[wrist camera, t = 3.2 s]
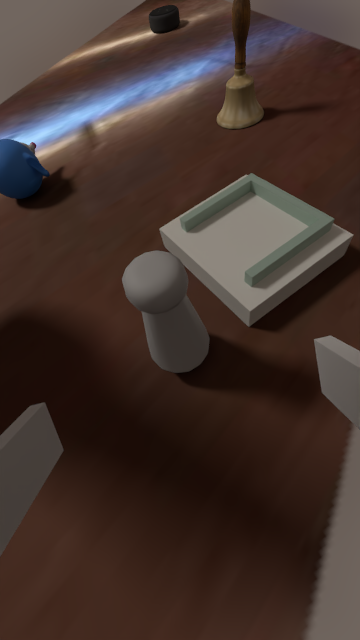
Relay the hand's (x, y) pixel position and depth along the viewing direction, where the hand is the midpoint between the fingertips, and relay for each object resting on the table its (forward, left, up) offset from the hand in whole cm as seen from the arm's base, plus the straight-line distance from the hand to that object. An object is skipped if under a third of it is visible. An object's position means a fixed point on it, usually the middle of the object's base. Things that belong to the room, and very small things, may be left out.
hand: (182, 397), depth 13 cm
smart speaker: (-98, +61, -13) cm, 116 cm away
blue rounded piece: (-52, +1, -13) cm, 53 cm away
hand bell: (-39, +38, -13) cm, 56 cm away
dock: (-14, +17, -13) cm, 25 cm away
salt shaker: (-8, +3, -13) cm, 15 cm away
